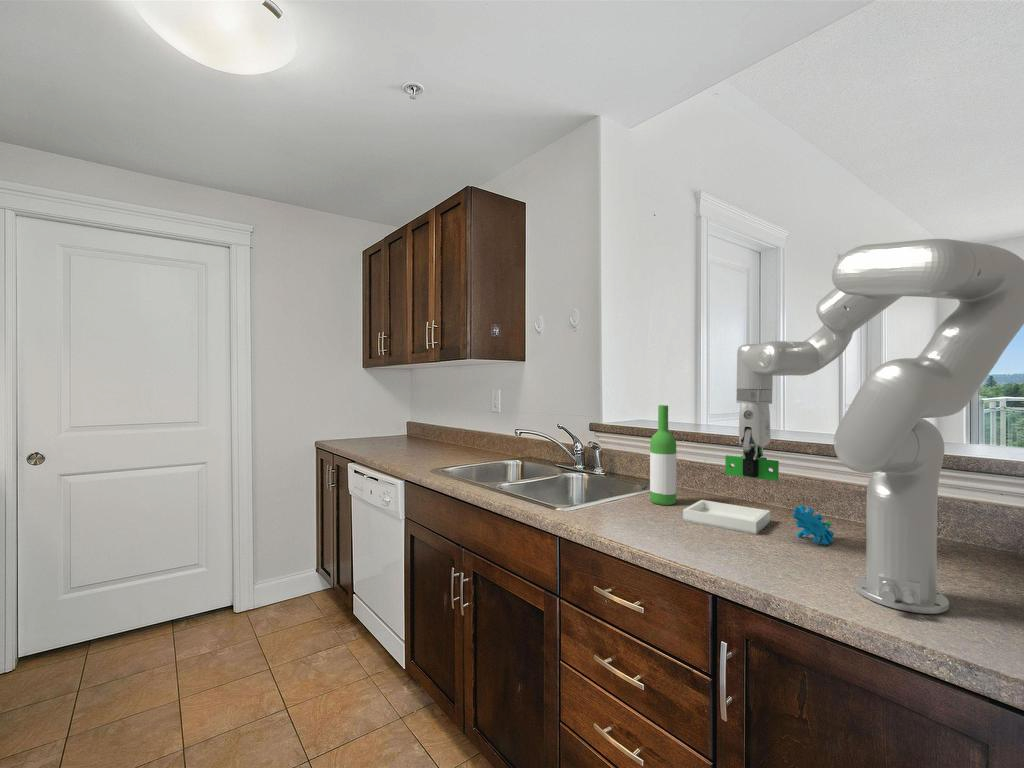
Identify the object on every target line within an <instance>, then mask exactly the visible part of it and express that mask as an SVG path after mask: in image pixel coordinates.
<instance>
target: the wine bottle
mask: <svg viewBox="0 0 1024 768" xmlns="http://www.w3.org/2000/svg"><path fill="white" fill-rule="evenodd" d="M657 409H658V410H657V411H658V412H657V414H658V415H657V416H658V417H657V420H658V421H657V431H656V432H655V433H654V434H653V435H652V436H651V438H650V443H649V444H650V445H649V454H650V455H649V497H650V502H652V503H653V504H656V505H660V506H670V505H674V504H675V503H676V502H677V442H676V439H675V437H674V435H673V434H672V433H671V432H670V431H669V406H668V404H660V405H658V408H657Z"/></svg>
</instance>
